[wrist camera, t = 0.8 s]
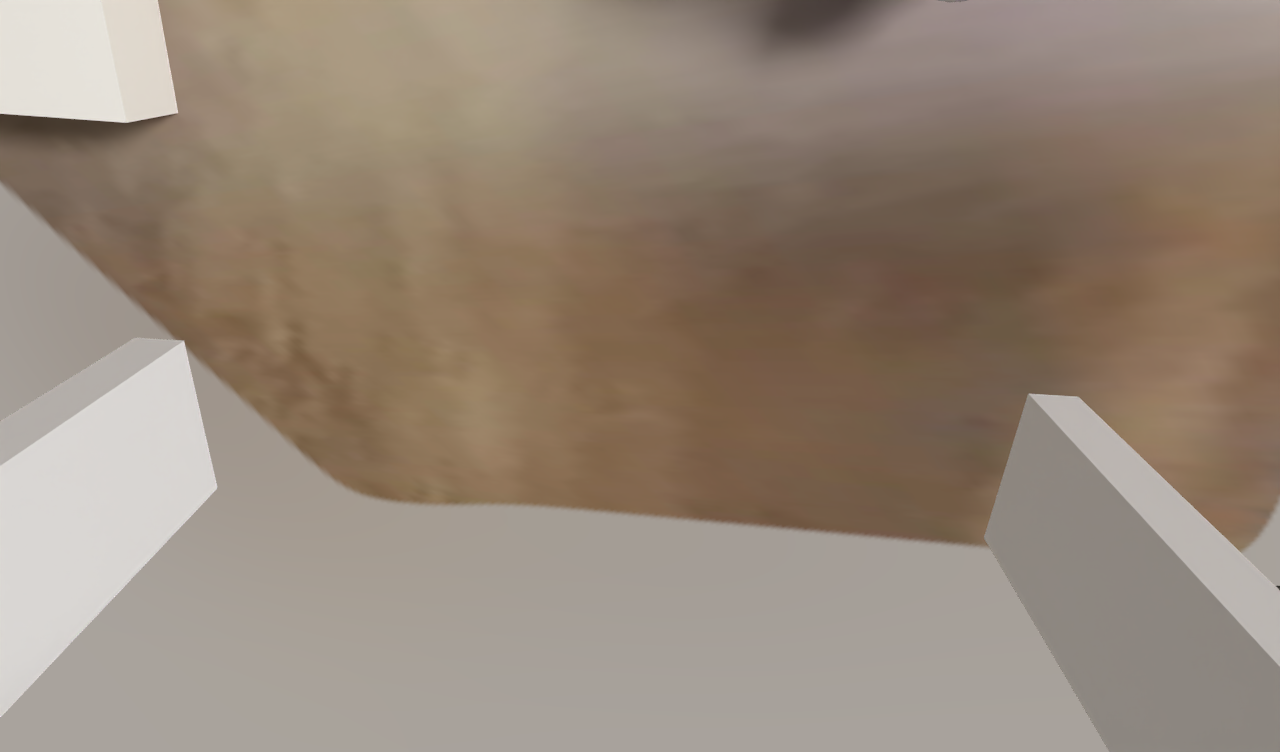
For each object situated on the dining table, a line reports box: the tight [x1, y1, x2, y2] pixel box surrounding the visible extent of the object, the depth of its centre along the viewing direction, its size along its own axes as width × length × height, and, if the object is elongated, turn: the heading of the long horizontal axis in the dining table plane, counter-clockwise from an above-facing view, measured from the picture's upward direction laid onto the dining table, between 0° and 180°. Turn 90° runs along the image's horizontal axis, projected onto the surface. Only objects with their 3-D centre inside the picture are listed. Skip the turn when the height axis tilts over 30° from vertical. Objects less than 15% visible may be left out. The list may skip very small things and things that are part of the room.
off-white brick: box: [0, 0, 178, 123], centre depth 34 cm, size 6×5×4 cm
